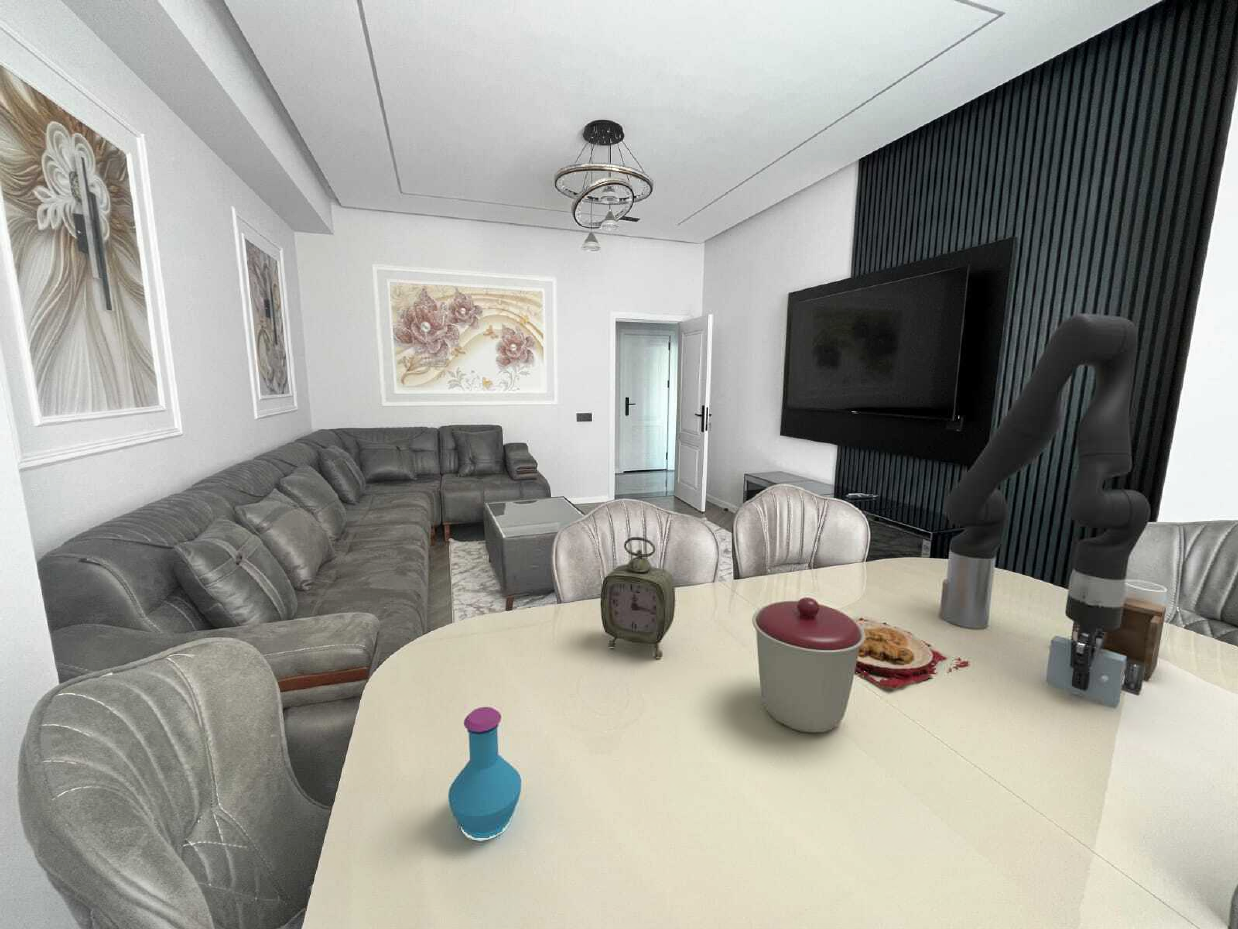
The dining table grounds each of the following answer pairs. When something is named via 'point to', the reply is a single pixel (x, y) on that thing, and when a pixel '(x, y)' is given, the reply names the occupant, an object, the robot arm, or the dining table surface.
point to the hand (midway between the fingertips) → (1082, 683)
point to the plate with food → (896, 655)
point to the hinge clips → (1133, 677)
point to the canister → (806, 662)
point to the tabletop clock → (638, 601)
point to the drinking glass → (1146, 592)
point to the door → (1102, 677)
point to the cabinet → (1137, 634)
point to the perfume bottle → (484, 780)
